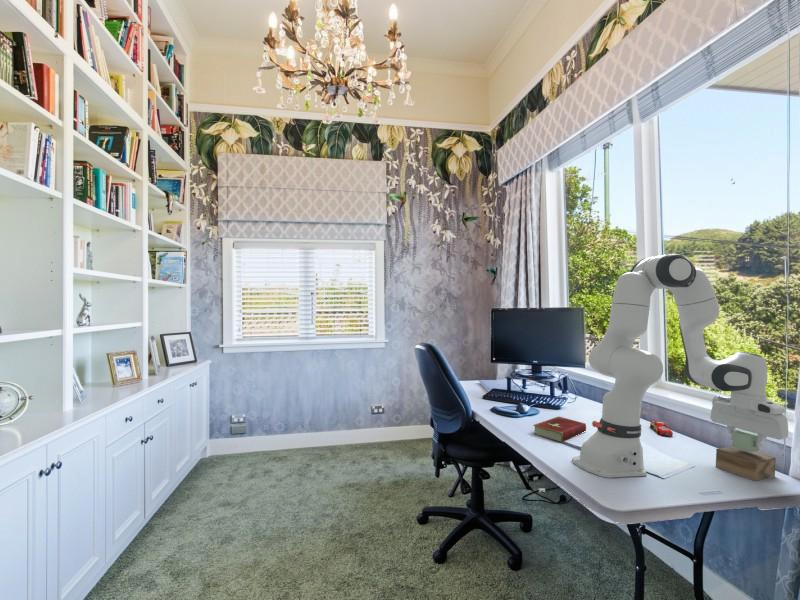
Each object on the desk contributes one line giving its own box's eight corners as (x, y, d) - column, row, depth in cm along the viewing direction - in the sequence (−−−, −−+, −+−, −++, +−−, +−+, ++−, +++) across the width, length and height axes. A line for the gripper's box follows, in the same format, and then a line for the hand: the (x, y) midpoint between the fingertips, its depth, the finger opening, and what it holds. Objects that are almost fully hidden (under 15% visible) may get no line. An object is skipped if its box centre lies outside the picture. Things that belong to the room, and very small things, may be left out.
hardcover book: (586, 433, 167) (586, 422, 167) (561, 443, 153) (562, 432, 153) (558, 425, 176) (558, 415, 176) (533, 434, 162) (533, 424, 162)
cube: (750, 452, 129) (750, 436, 129) (732, 446, 134) (733, 431, 134) (759, 450, 131) (759, 435, 131) (741, 445, 136) (741, 430, 136)
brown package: (754, 480, 125) (755, 461, 125) (715, 466, 135) (716, 448, 135) (774, 476, 129) (775, 457, 129) (735, 462, 140) (736, 445, 139)
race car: (674, 438, 164) (675, 428, 164) (659, 436, 165) (659, 427, 165) (662, 428, 177) (662, 419, 177) (648, 427, 178) (649, 418, 178)
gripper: (707, 394, 141) (705, 434, 141) (781, 410, 122) (778, 456, 122) (718, 393, 143) (716, 432, 143) (792, 409, 124) (790, 454, 124)
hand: (745, 443), depth 132 cm, fingers closed on cube, 5 cm apart
